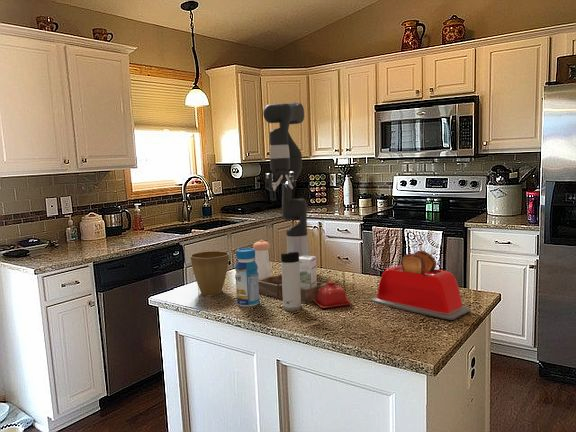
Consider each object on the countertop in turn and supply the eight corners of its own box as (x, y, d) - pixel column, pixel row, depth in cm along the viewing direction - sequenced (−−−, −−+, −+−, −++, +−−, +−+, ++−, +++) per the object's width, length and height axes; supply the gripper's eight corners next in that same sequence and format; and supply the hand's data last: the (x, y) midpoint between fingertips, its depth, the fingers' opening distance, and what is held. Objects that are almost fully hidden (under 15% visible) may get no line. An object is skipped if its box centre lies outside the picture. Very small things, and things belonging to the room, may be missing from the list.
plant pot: (211, 301, 180) (209, 259, 178) (184, 296, 189) (182, 255, 187) (238, 291, 191) (236, 252, 190) (212, 287, 200) (210, 249, 199)
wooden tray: (283, 284, 199) (282, 273, 199) (331, 295, 181) (331, 282, 181) (255, 292, 189) (255, 280, 188) (304, 304, 171) (303, 291, 170)
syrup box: (317, 293, 181) (316, 255, 179) (312, 298, 175) (310, 258, 174) (303, 292, 183) (302, 255, 182) (297, 296, 178) (296, 258, 176)
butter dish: (311, 302, 174) (310, 279, 173) (341, 298, 177) (340, 275, 176) (321, 311, 163) (320, 286, 162) (353, 307, 166) (352, 283, 165)
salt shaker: (262, 282, 205) (259, 237, 203) (275, 284, 201) (273, 239, 199) (251, 286, 199) (248, 240, 197) (264, 288, 195) (262, 241, 193)
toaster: (368, 302, 171) (367, 250, 169) (389, 294, 180) (388, 244, 178) (452, 321, 148) (452, 261, 146) (472, 311, 157) (472, 254, 154)
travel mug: (288, 312, 163) (286, 254, 161) (280, 307, 169) (277, 251, 166) (305, 309, 166) (302, 251, 163) (295, 304, 171) (293, 249, 169)
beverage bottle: (260, 306, 171) (257, 251, 168) (236, 308, 170) (233, 252, 168) (259, 299, 179) (257, 246, 177) (237, 301, 178) (234, 248, 176)
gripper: (272, 157, 176) (274, 201, 178) (299, 156, 186) (301, 198, 188) (259, 158, 181) (261, 201, 183) (286, 157, 191) (287, 198, 193)
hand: (281, 199), depth 185 cm, fingers open, 8 cm apart
